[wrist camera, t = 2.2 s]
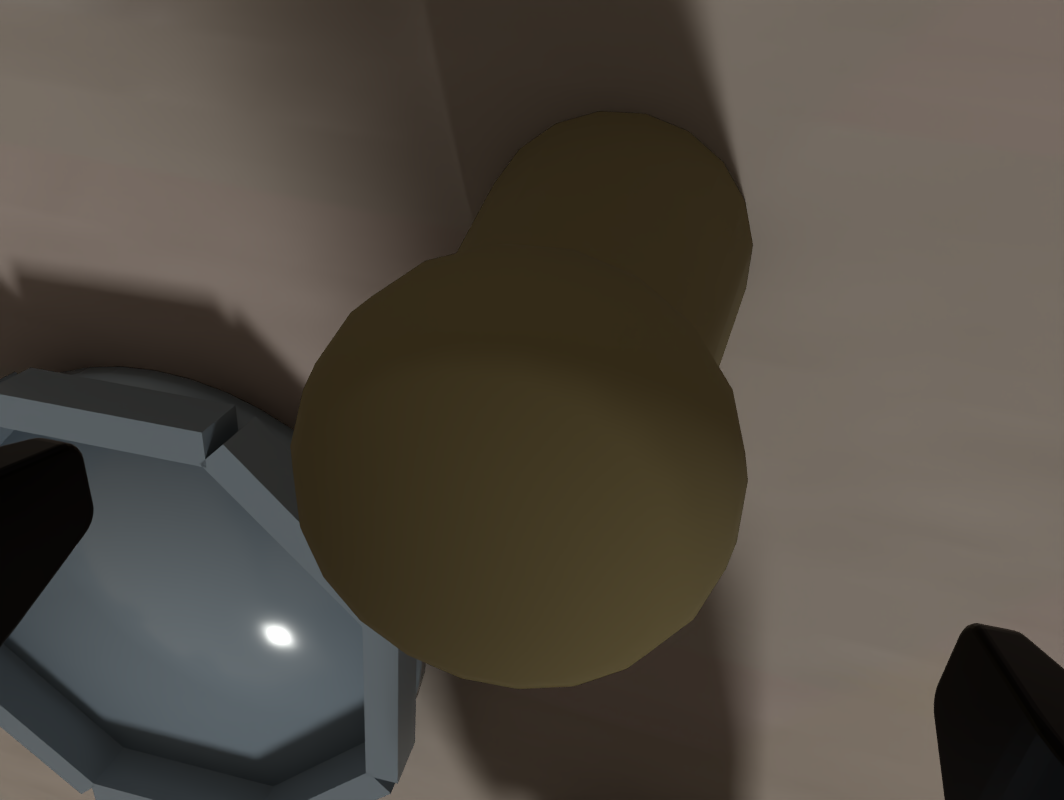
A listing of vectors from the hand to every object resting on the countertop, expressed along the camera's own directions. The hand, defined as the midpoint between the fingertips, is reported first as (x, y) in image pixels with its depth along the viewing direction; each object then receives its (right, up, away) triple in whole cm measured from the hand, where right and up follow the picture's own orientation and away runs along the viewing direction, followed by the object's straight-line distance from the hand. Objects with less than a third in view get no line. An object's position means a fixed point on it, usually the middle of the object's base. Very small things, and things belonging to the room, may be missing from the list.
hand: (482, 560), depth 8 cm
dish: (-11, -5, +17) cm, 21 cm away
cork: (+2, +5, +10) cm, 11 cm away
